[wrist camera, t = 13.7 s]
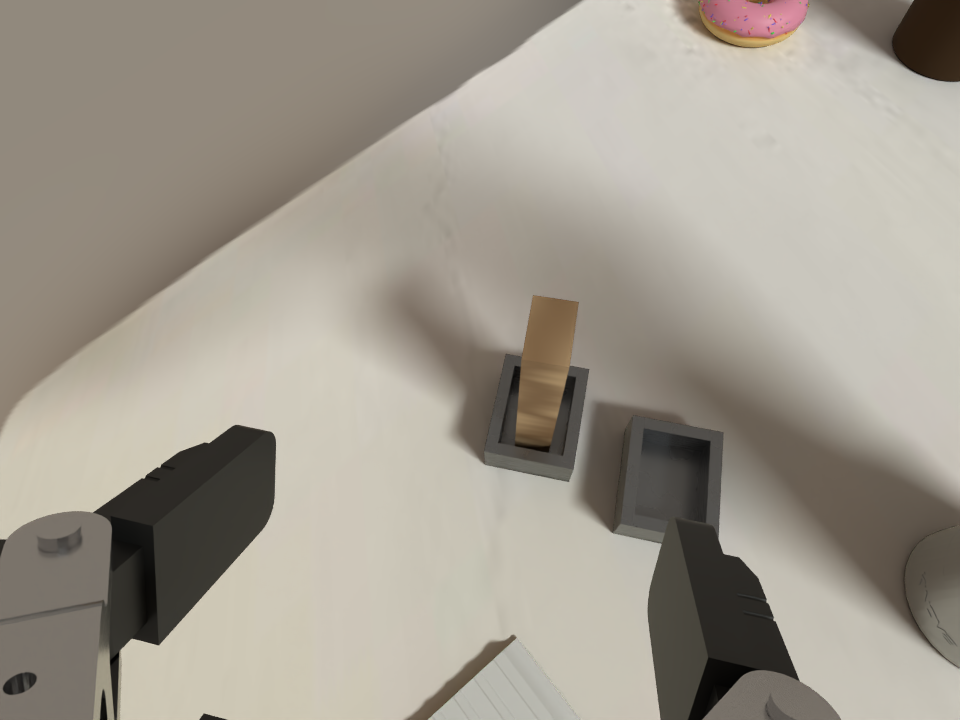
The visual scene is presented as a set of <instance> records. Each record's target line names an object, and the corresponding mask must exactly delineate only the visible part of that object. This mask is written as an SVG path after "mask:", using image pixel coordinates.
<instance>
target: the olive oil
mask: <svg viewBox="0 0 960 720" xmlns="http://www.w3.org/2000/svg"><path fill="white" fill-rule="evenodd" d="M892 43H893V48H894V51H895V53H896V55H897V56H898V58H899V59H900V60H901V61H902V62H903V63H904V64H905V65H906V66H908V67H909V68H911V69H912V70H914V71H916V72H917V73H920V74H922V75H924V76H927V77H930V78H933V79H937V80H943V81H960V0H914V1H913V3H912V5H911V6H910V8H909V10H908V11H907V13H906V15H905V16H904V18H903V20H902V21H901V23H900V25H899V27H898V28H897V30H896V32H895V34H894V36H893V41H892Z"/></svg>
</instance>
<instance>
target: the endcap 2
mask: <svg viewBox="0 0 960 720" xmlns="http://www.w3.org/2000/svg"><path fill="white" fill-rule="evenodd" d="M722 449H723V432H719V431H713V430H708V429H703V428H698V427H692V426H687V425H682V424H676V423H671V422H666V421H661V420H655V419H650V418H645V417H640V416H634V415H633V417H632V418H631V420H630V422H629V424H628V426H627V428H626V430H625V436H624V444H623V452H622V460H621V469H620V477H619V485H618V494H617V502H616V510H615V518H614V527H613V533H615V534H619V535H624V536H629V537H633V538H638V539H643V540H647V541H652V542H657V543H661V544H662V541H663V538H664V534H665V531H666V527H667V524H668V522H669V520H670V518H671V517H678V518H683V519H688V520H692V521H697V522H702V523H707V524H711V525H713V526H714V528H715V531H716V534H717V537H719V515H720V493H721V471H722Z"/></svg>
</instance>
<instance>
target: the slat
mask: <svg viewBox="0 0 960 720" xmlns="http://www.w3.org/2000/svg"><path fill="white" fill-rule="evenodd" d="M578 303H579V302H575V301H568V300H561V299H555V298H548V297H541V296H534V295H533V299H532V305H531V310H530V316H529V321H528V326H527V332H526V337H525V343H524V348H523V354H522V359H521V372H520V385H519V397H518V410H517V423H516V435H515V446H517V447H522V448H528V449H534V450H539V451H545V452H549V450H550V446H551V441H552V437H553V433H554V429H555V425H556V421H557V417H558V412H559V408H560V404H561V400H562V396H563V392H564V387H565V383H566V379H567V375H568V371H569V366H570V359H571V352H572V345H573V338H574V331H575V324H576V317H577V310H578Z"/></svg>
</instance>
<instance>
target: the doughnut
mask: <svg viewBox="0 0 960 720" xmlns="http://www.w3.org/2000/svg"><path fill="white" fill-rule="evenodd" d="M808 5H810V4H808V0H699V13H700V17H701V19H702V21H703V23H704V25H705V26H706V28H707V29H708V30H709V31H710V32H711V33H712V34H714V35H715V36H716V37H718V38H720V39H721V40H723V41H726V42H728V43H731V44H734V45H738V46H743V47H764V46H769V45H773V44H776V43H779V42H781V41H783V40H785V39H786V38H788V37H789V36H790V35H792V34H793V33H794V32H795V31H796V30H797V28H798V27H799V25H800V24H801V23H802V22H803V21H804V19H805V16H806V13H807V8H808V7H809V6H808Z"/></svg>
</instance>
